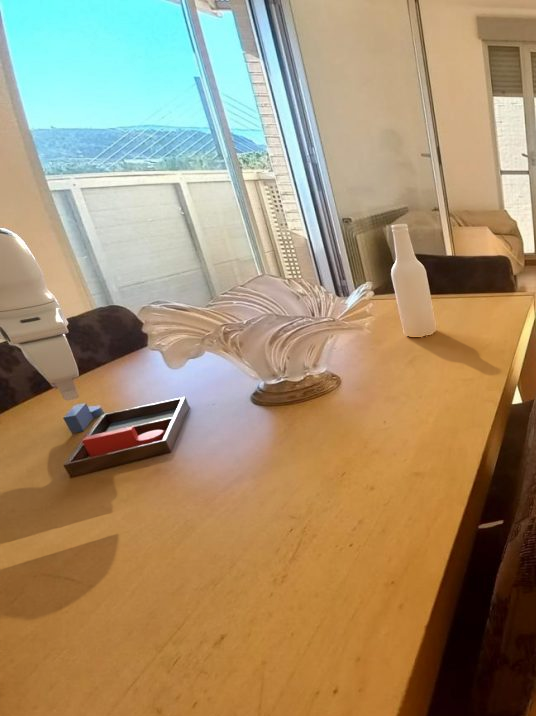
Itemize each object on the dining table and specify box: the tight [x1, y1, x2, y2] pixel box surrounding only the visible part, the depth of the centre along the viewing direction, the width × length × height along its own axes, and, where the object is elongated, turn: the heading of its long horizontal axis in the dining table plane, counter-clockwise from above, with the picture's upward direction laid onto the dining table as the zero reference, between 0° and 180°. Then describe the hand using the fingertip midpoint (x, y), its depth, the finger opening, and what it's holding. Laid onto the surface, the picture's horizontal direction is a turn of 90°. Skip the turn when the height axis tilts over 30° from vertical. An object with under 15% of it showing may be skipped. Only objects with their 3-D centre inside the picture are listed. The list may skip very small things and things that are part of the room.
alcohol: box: [390, 223, 437, 337], centre depth 129 cm, size 9×9×30 cm
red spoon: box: [81, 426, 165, 457], centre depth 81 cm, size 9×4×3 cm, turn 123°
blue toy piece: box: [62, 402, 105, 434], centre depth 91 cm, size 9×4×3 cm, turn 33°
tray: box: [62, 396, 190, 479], centre depth 85 cm, size 12×20×2 cm, turn 33°
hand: (66, 392), depth 87 cm, fingers open, 8 cm apart
